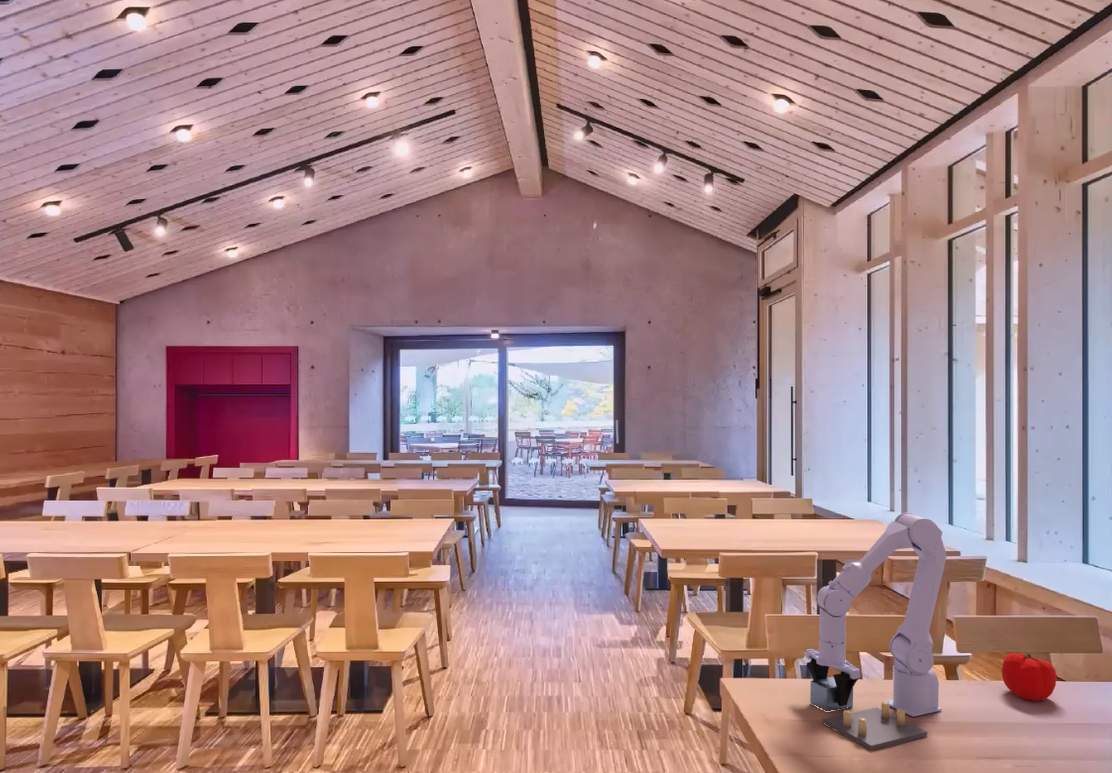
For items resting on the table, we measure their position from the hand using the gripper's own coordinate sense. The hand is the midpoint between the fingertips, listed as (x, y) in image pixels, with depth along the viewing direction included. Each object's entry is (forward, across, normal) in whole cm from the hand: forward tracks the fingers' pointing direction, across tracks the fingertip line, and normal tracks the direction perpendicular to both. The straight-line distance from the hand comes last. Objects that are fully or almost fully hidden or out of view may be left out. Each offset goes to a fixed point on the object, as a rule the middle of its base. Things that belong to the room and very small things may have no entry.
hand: (831, 699), depth 168 cm
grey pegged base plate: (+1, +13, -1) cm, 13 cm away
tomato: (+2, +14, +49) cm, 51 cm away
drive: (+2, 0, 0) cm, 2 cm away
